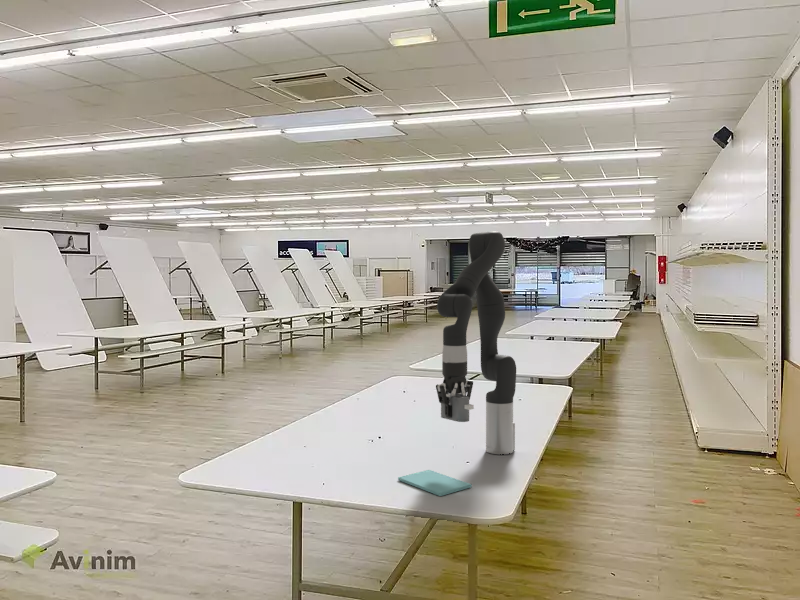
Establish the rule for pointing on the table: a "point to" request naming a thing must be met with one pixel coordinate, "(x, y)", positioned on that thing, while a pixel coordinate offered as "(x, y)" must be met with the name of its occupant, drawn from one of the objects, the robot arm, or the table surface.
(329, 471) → the table surface
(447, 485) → the mat
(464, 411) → the plug block
